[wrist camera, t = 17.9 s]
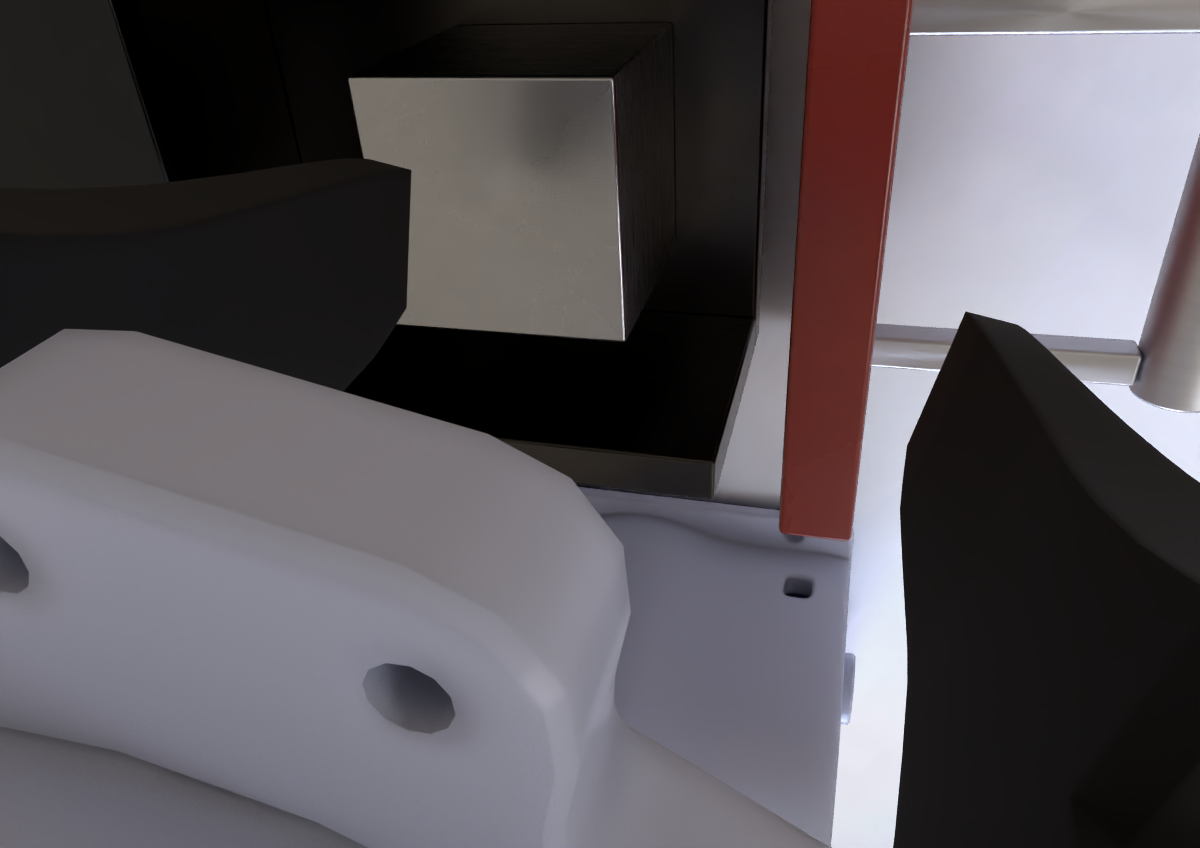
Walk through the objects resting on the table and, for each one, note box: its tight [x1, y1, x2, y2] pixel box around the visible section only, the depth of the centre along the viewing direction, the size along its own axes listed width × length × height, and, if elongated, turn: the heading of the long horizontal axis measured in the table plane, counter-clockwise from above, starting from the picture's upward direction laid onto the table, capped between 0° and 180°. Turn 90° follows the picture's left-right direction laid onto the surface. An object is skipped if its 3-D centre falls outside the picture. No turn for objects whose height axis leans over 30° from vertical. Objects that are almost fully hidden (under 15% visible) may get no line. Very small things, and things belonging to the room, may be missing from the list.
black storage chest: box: [0, 0, 192, 189], centre depth 20 cm, size 14×11×8 cm
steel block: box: [347, 23, 675, 342], centre depth 17 cm, size 4×4×4 cm
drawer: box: [139, 0, 1200, 541], centre depth 16 cm, size 19×10×7 cm, turn 93°
